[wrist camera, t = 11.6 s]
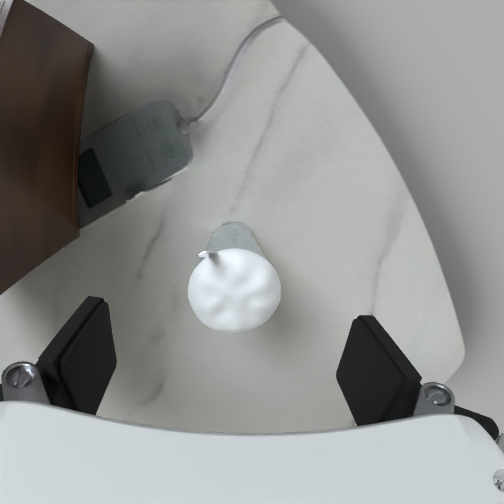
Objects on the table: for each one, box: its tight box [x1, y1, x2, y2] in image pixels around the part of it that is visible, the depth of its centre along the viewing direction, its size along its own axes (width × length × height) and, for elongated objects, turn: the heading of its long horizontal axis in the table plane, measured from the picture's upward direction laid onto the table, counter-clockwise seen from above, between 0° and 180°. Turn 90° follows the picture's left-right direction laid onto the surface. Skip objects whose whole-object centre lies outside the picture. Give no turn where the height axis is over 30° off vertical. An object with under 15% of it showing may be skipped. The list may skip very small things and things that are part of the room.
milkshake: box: [188, 222, 281, 333], centre depth 17 cm, size 5×5×10 cm
